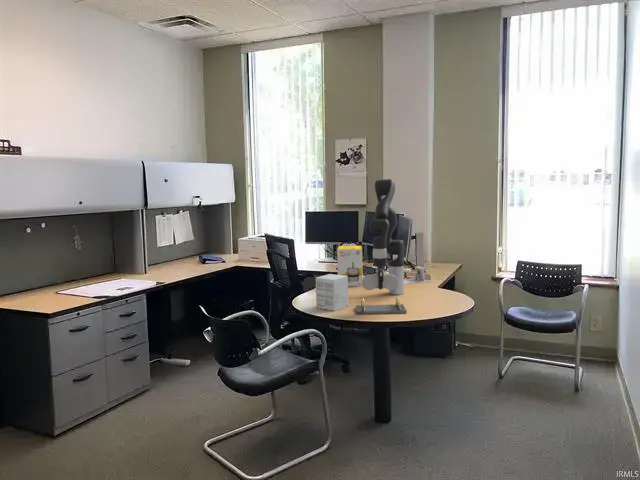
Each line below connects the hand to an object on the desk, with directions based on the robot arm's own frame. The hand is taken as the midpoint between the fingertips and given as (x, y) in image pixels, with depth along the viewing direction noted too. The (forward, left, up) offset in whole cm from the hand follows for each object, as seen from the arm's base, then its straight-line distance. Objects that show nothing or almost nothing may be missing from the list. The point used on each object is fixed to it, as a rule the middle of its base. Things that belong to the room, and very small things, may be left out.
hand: (380, 288), depth 287 cm
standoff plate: (0, 0, -12) cm, 12 cm away
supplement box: (-10, -26, -13) cm, 31 cm away
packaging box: (-75, -13, -12) cm, 77 cm away
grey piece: (0, 0, -1) cm, 1 cm away
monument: (-76, +25, -13) cm, 81 cm away
